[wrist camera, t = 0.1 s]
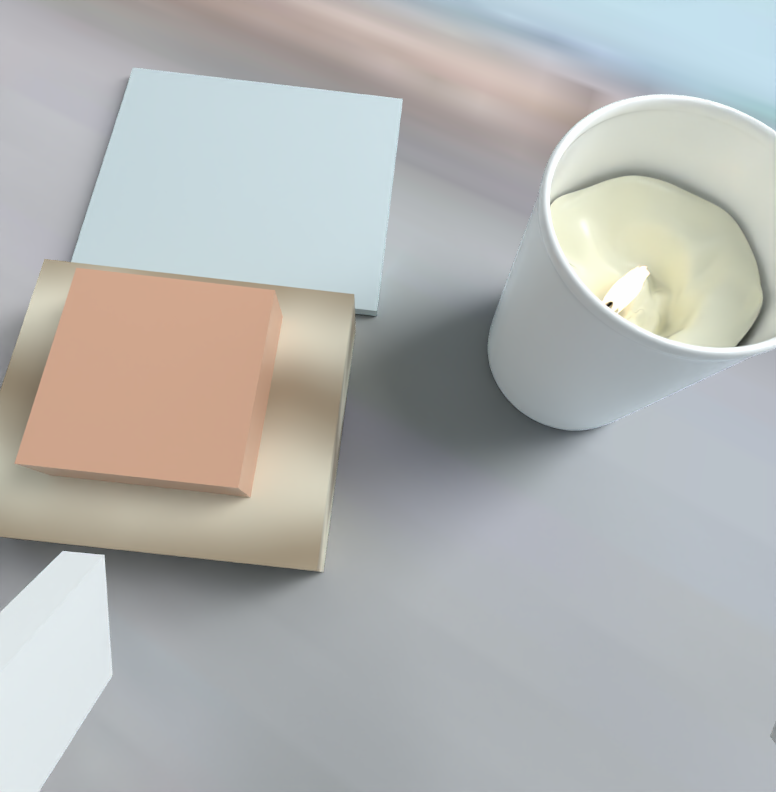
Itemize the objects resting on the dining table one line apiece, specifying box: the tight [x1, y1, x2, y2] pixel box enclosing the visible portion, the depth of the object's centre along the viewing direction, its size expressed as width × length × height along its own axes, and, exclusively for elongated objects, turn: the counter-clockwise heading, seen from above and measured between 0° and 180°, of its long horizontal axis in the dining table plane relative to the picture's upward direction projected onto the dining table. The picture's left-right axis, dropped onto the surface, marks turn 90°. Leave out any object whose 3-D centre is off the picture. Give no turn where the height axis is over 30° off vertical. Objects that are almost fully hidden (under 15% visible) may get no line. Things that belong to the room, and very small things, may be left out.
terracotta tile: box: [14, 268, 283, 497], centre depth 22 cm, size 8×8×2 cm
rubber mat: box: [71, 68, 403, 316], centre depth 31 cm, size 14×16×1 cm
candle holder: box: [488, 94, 776, 431], centre depth 24 cm, size 10×10×12 cm
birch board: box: [0, 259, 355, 572], centre depth 25 cm, size 12×14×4 cm
